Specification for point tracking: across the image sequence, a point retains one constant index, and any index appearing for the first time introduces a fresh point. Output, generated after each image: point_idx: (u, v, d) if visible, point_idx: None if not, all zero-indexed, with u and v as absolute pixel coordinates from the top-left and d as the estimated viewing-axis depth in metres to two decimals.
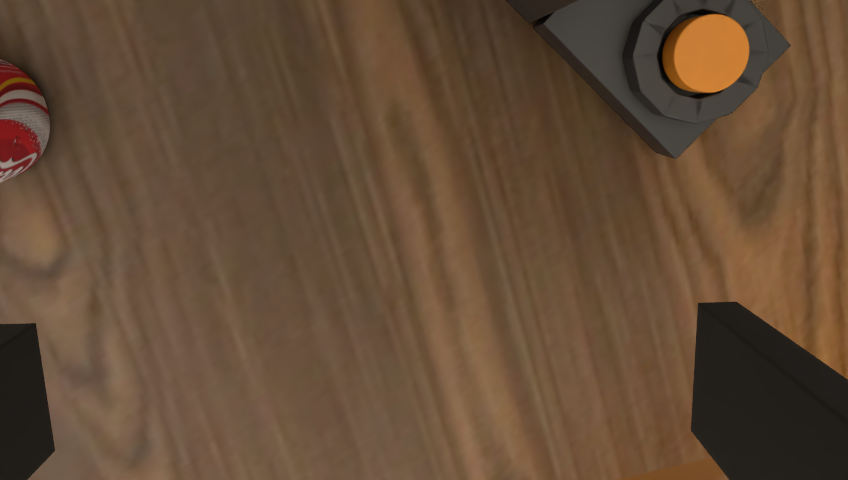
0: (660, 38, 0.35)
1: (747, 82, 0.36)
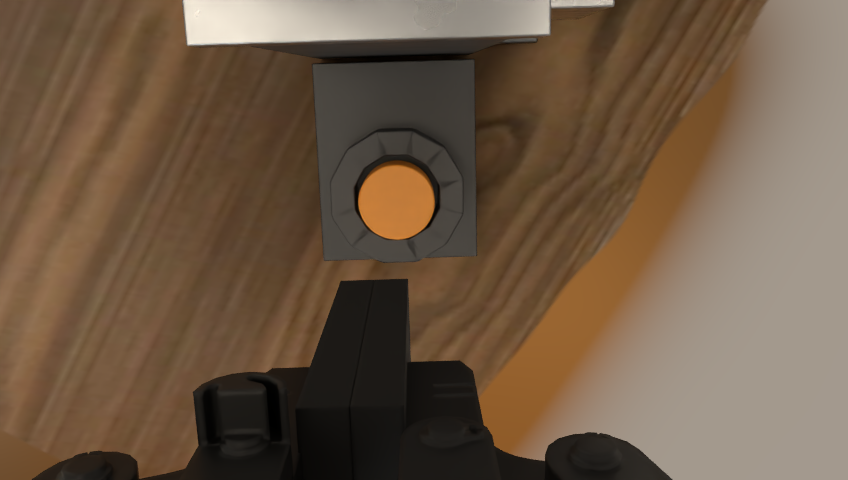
0: (378, 157, 0.35)
1: (412, 250, 0.36)
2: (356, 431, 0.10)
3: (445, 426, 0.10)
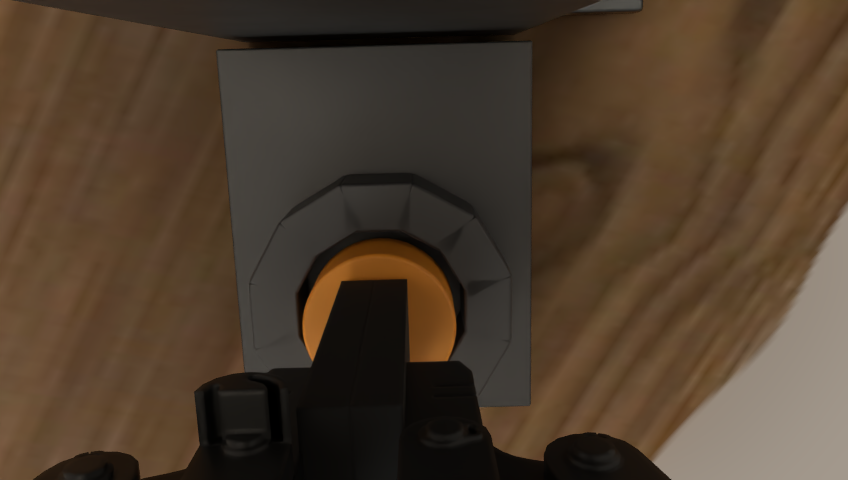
0: (343, 235, 0.18)
1: None
2: (357, 431, 0.10)
3: (444, 426, 0.10)
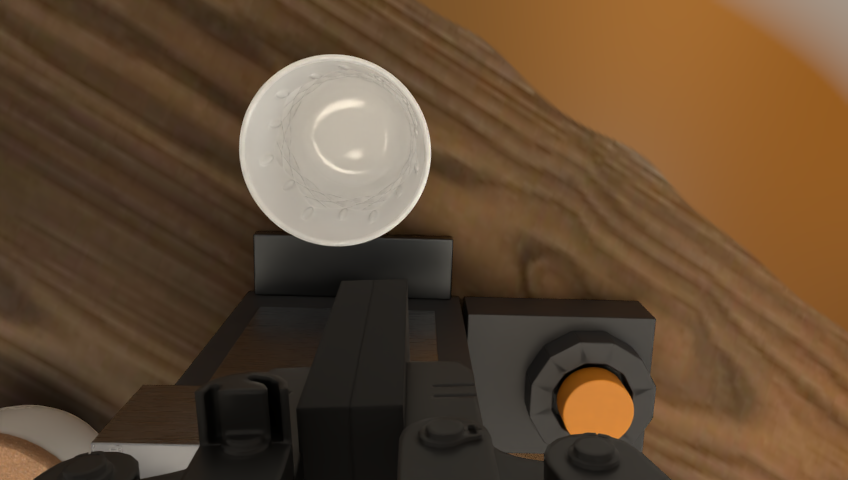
0: (552, 415, 0.38)
1: (644, 390, 0.38)
2: (357, 431, 0.10)
3: (444, 426, 0.10)
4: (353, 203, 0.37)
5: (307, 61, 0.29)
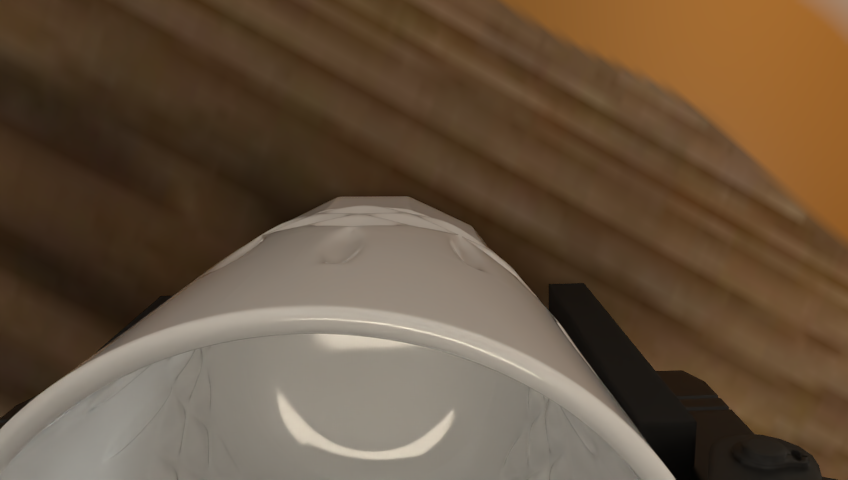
0: None
1: None
2: None
3: (763, 445, 0.09)
4: None
5: (168, 346, 0.06)
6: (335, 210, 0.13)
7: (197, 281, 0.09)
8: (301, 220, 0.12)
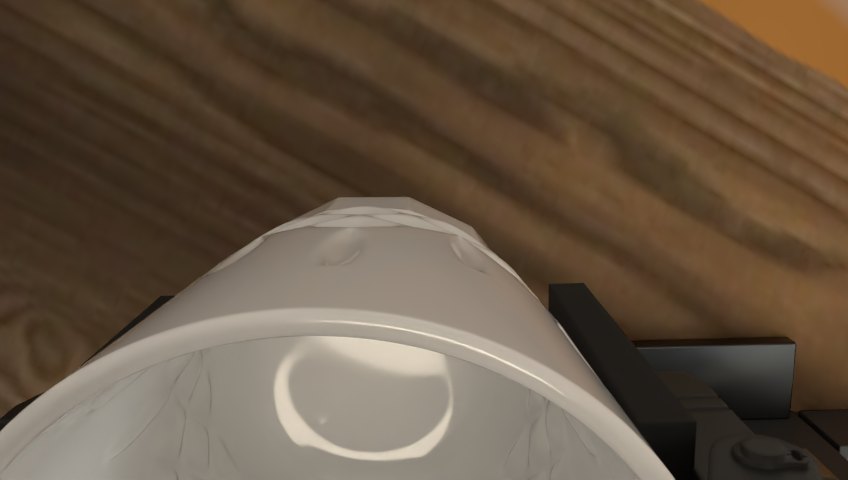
0: None
1: None
2: None
3: (763, 445, 0.09)
4: None
5: (168, 348, 0.06)
6: (335, 211, 0.13)
7: (197, 282, 0.09)
8: (301, 221, 0.12)
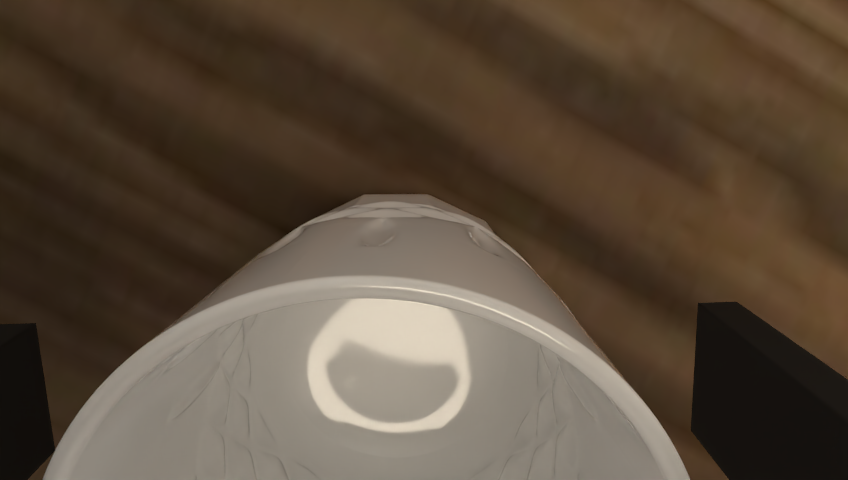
0: None
1: None
2: None
3: None
4: None
5: (247, 308, 0.08)
6: (364, 205, 0.14)
7: (253, 263, 0.11)
8: (335, 214, 0.14)
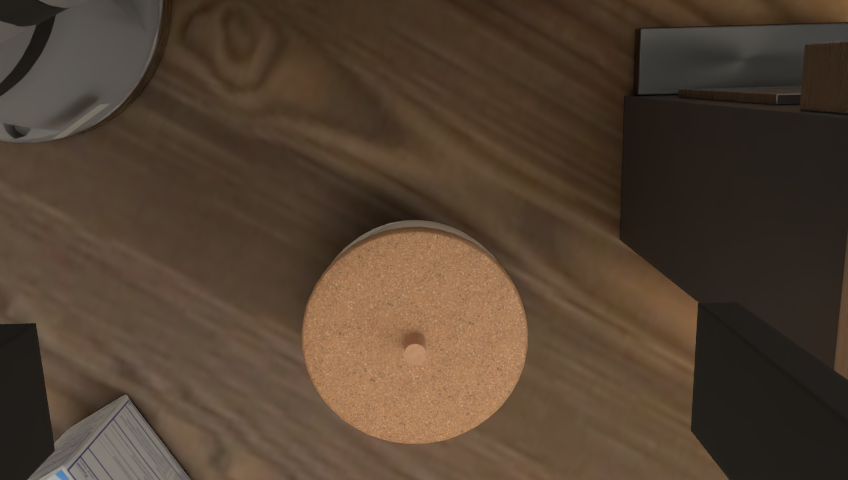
0: None
1: None
2: None
3: None
4: None
5: None
6: None
7: None
8: None
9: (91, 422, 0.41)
